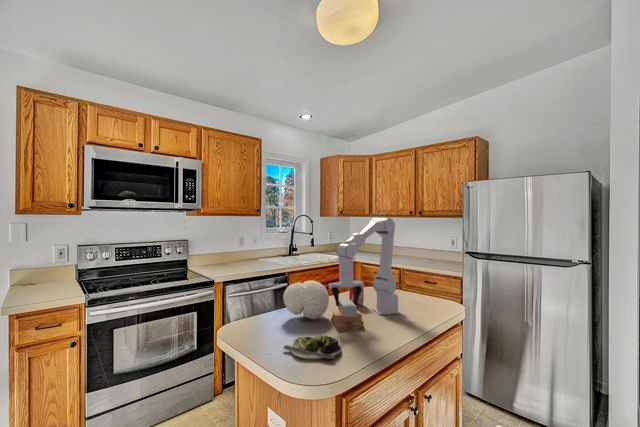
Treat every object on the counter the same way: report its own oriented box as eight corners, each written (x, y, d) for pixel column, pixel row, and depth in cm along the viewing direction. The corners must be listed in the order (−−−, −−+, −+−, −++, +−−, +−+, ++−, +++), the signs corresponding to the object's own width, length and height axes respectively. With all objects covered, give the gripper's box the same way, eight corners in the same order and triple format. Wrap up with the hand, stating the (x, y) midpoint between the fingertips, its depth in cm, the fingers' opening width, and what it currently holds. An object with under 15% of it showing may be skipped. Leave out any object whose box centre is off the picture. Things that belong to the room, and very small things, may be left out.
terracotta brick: (358, 319, 128) (358, 310, 128) (361, 323, 123) (361, 314, 123) (332, 321, 126) (332, 311, 126) (335, 325, 121) (335, 315, 121)
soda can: (354, 308, 147) (354, 283, 147) (346, 304, 153) (346, 280, 153) (366, 306, 150) (366, 282, 150) (358, 302, 156) (358, 279, 156)
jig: (355, 319, 132) (355, 313, 132) (364, 329, 120) (364, 323, 120) (331, 320, 130) (331, 314, 130) (337, 331, 118) (337, 325, 118)
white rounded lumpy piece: (323, 310, 143) (323, 276, 143) (334, 324, 126) (334, 284, 126) (281, 314, 138) (281, 278, 138) (287, 328, 121) (286, 287, 121)
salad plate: (280, 364, 93) (280, 349, 93) (286, 340, 111) (286, 327, 111) (343, 364, 93) (343, 349, 93) (339, 339, 111) (339, 327, 111)
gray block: (356, 316, 120) (356, 306, 120) (344, 317, 120) (344, 307, 120) (349, 308, 130) (349, 299, 130) (338, 309, 129) (338, 300, 129)
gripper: (359, 270, 131) (360, 301, 131) (327, 271, 129) (327, 303, 129) (365, 273, 124) (365, 306, 124) (330, 274, 122) (330, 308, 122)
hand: (346, 305), depth 126 cm, fingers open, 7 cm apart
